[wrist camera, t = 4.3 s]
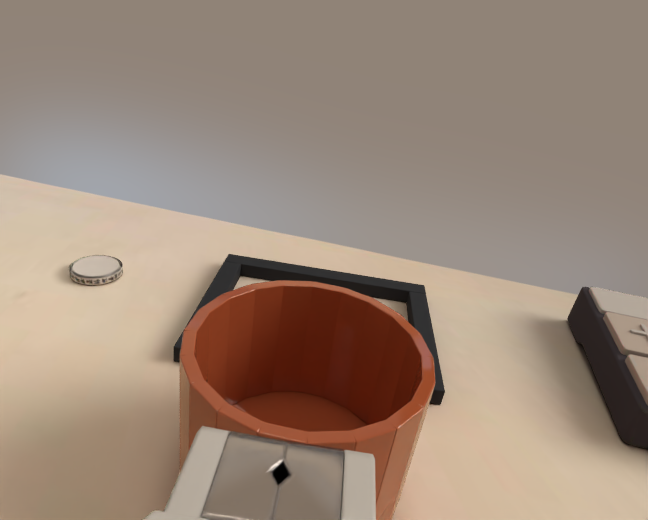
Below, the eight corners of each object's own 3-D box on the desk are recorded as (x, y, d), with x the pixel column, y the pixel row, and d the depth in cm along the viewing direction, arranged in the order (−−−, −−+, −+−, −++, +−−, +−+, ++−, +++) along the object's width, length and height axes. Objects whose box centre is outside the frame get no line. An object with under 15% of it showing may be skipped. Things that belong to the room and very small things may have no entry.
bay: (440, 405, 32) (445, 391, 32) (173, 361, 33) (173, 346, 32) (421, 296, 45) (424, 285, 44) (228, 265, 45) (228, 253, 44)
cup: (138, 456, 26) (131, 324, 22) (298, 371, 33) (313, 261, 29) (279, 644, 19) (305, 502, 15) (438, 484, 27) (481, 362, 23)
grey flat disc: (120, 284, 40) (119, 277, 39) (65, 285, 38) (64, 278, 38) (124, 260, 43) (124, 254, 43) (74, 260, 42) (73, 254, 42)
